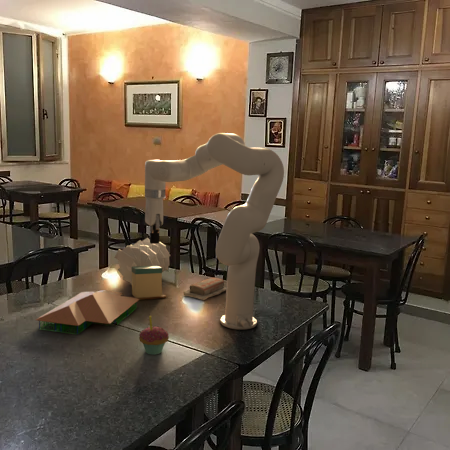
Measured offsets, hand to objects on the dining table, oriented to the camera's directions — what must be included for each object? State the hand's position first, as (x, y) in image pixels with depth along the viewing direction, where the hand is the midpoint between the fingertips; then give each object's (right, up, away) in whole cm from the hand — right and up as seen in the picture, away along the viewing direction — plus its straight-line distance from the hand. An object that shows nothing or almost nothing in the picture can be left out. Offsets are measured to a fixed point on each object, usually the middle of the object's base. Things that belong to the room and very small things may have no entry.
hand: (154, 243), depth 187 cm
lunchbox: (-3, -15, +5) cm, 16 cm away
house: (-19, -25, -15) cm, 35 cm away
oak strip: (-4, -22, +7) cm, 23 cm away
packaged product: (+19, -21, +17) cm, 33 cm away
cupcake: (+5, -30, -40) cm, 51 cm away
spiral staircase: (-9, -17, +30) cm, 36 cm away
